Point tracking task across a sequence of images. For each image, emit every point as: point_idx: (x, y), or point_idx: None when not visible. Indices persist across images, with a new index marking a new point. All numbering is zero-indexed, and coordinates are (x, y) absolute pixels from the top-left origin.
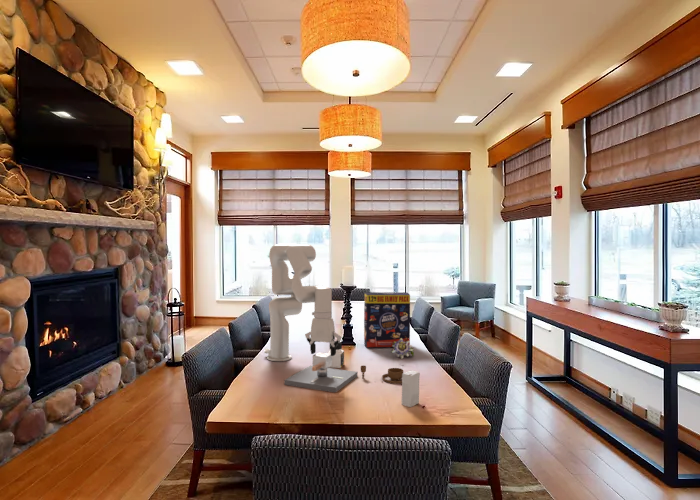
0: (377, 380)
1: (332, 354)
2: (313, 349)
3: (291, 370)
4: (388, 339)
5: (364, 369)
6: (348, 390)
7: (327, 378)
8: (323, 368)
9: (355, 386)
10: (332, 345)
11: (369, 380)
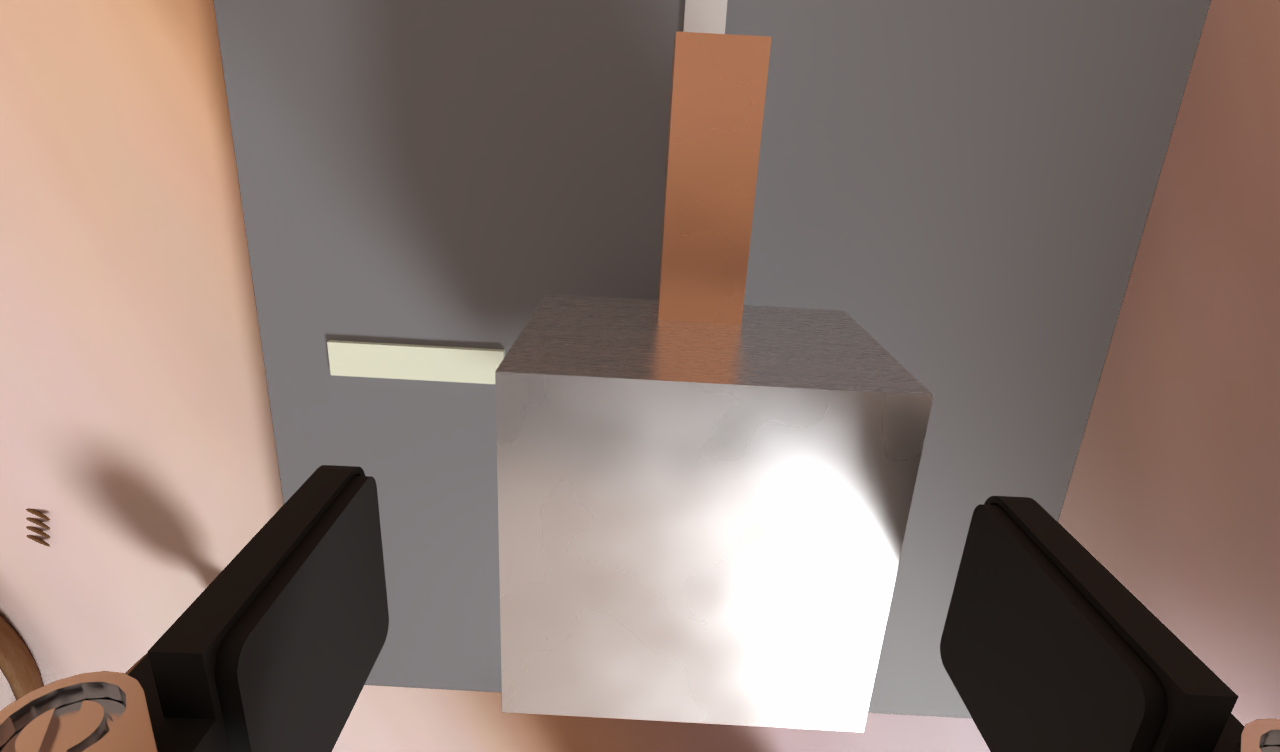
0: (48, 582)
1: (311, 500)
2: (1024, 628)
3: (1221, 580)
4: None
5: (130, 670)
6: (136, 72)
7: (547, 280)
8: (596, 297)
9: (148, 278)
10: (119, 739)
11: (128, 552)
